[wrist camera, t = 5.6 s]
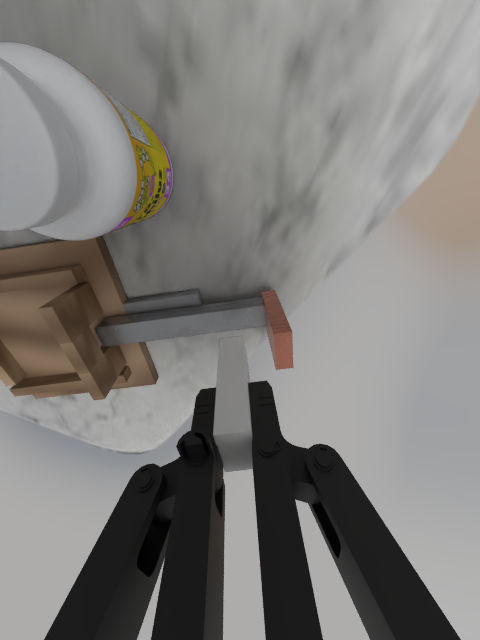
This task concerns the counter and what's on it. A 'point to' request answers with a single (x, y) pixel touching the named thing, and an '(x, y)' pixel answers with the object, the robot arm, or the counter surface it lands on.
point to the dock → (70, 320)
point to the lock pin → (205, 324)
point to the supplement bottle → (72, 152)
